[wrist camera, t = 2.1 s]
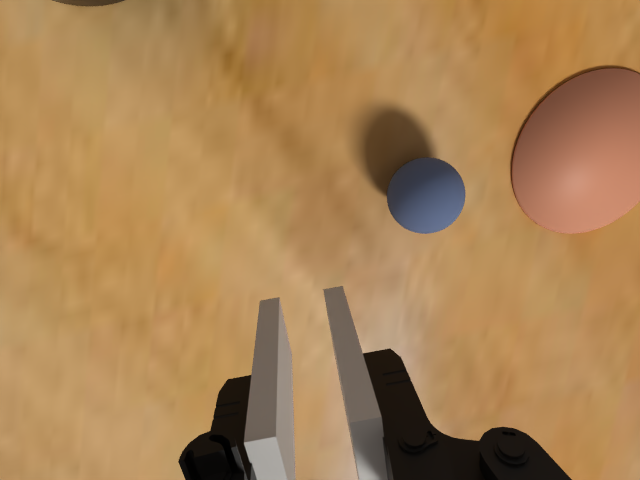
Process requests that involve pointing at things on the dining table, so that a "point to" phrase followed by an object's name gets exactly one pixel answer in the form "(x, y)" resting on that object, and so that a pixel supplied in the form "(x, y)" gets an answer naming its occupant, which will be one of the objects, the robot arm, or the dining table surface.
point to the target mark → (581, 153)
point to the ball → (426, 195)
